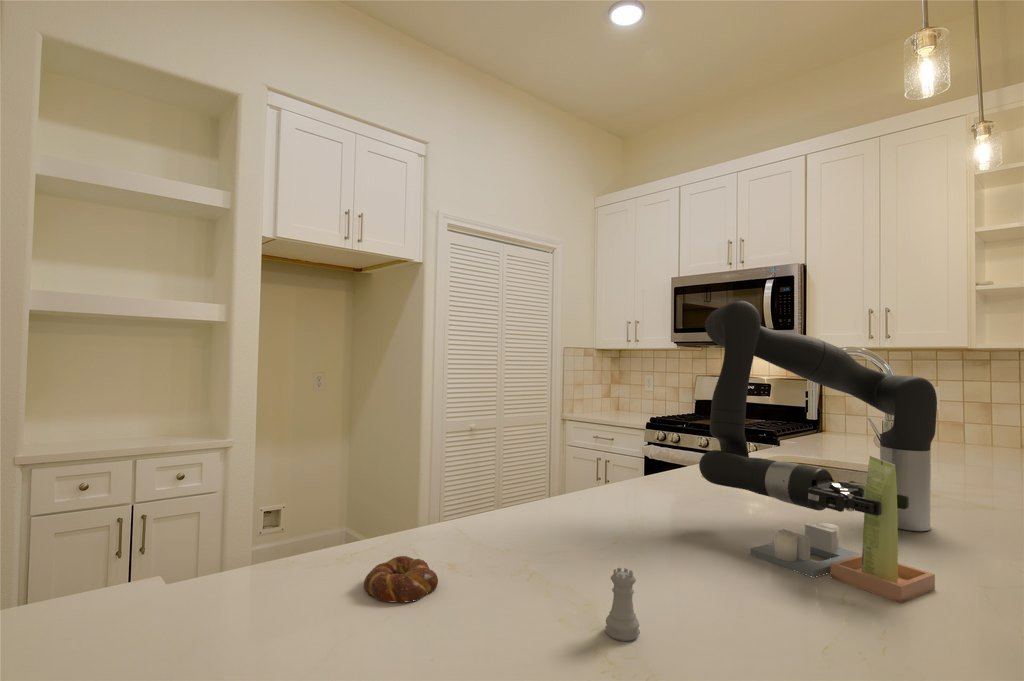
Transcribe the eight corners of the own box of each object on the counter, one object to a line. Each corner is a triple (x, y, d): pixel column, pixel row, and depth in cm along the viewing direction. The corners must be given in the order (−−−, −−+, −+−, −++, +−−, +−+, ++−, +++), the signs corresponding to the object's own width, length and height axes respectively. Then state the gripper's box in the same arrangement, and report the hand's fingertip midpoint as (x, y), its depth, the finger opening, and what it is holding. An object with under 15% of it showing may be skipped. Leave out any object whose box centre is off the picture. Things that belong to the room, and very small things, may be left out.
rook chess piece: (601, 625, 74) (602, 565, 74) (633, 625, 74) (634, 564, 74) (609, 643, 69) (611, 578, 69) (644, 642, 70) (645, 578, 70)
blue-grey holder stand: (802, 541, 110) (802, 516, 110) (866, 561, 100) (866, 533, 100) (749, 555, 102) (749, 527, 102) (812, 578, 91) (813, 548, 92)
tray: (864, 566, 97) (864, 552, 97) (934, 589, 88) (934, 574, 88) (830, 577, 92) (830, 563, 92) (901, 603, 83) (901, 586, 83)
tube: (907, 582, 89) (908, 460, 90) (894, 589, 86) (895, 463, 87) (869, 570, 94) (869, 455, 94) (855, 577, 91) (856, 457, 91)
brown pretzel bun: (360, 577, 88) (361, 554, 88) (428, 570, 92) (428, 548, 92) (366, 611, 77) (367, 584, 77) (443, 601, 80) (444, 575, 80)
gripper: (774, 467, 99) (871, 486, 85) (820, 461, 106) (916, 478, 92) (774, 509, 99) (871, 535, 85) (820, 500, 106) (916, 523, 92)
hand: (894, 505), depth 89 cm, fingers open, 8 cm apart
